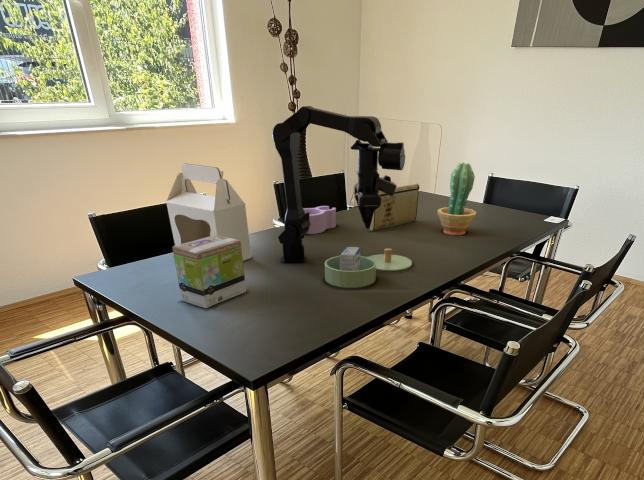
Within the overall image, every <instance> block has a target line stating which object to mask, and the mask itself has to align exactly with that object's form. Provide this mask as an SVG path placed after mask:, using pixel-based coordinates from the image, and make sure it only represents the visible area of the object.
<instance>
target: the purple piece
mask: <svg viewBox="0 0 644 480" xmlns="http://www.w3.org/2000/svg"><path fill="white" fill-rule="evenodd" d="M303 209H304V211H305V213H306V212H309V220H310V223H311V225H310V226H309V230H308V232H307V233H306V234H305V235H317V234H321V233H323V232H325V231H326V230H328V229H333V228H336V227H337V212H336V211H337V208H336V207H331V208H330V206H329V205H320V206H316V207H303Z"/></svg>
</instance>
